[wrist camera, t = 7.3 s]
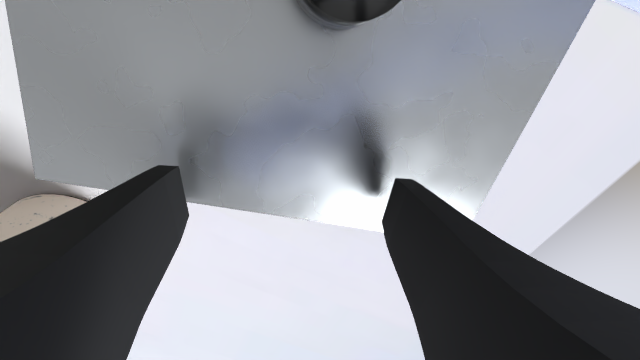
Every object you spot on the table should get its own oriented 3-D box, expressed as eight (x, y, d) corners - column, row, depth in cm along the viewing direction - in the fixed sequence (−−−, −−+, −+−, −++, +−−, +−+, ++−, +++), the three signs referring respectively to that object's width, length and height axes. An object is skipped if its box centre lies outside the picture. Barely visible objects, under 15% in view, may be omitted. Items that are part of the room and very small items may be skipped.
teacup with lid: (19, 257, 24) (-172, 434, 14) (-5, 175, 19) (-313, 353, 9) (165, 279, 27) (93, 436, 17) (174, 213, 22) (81, 376, 13)
